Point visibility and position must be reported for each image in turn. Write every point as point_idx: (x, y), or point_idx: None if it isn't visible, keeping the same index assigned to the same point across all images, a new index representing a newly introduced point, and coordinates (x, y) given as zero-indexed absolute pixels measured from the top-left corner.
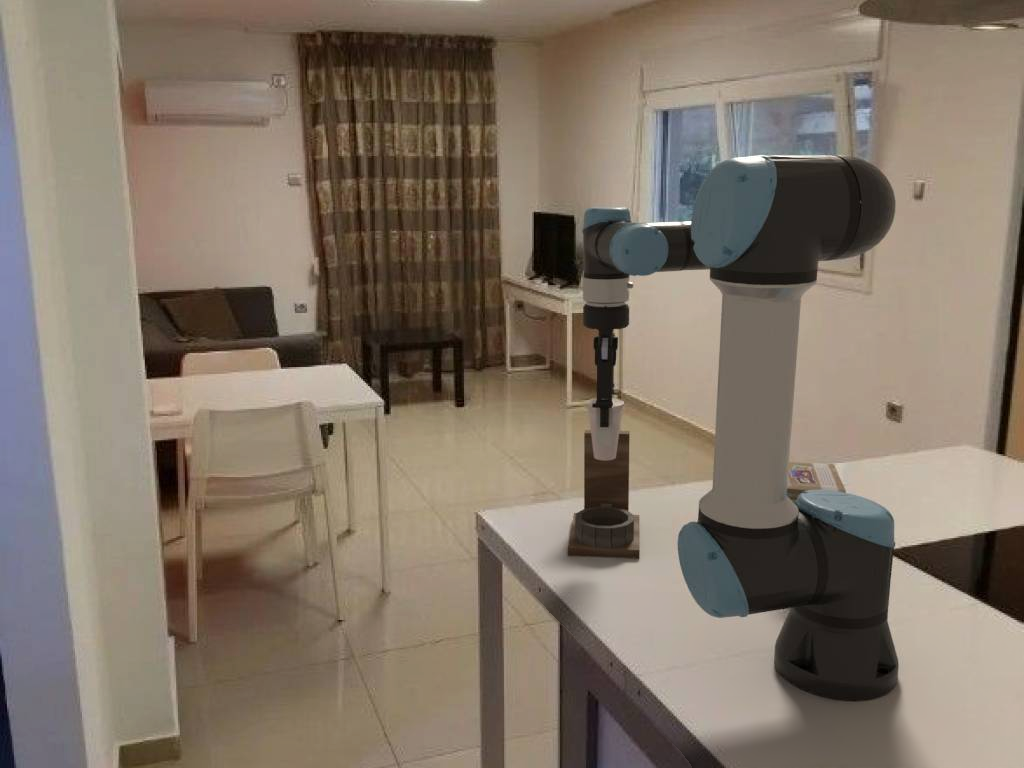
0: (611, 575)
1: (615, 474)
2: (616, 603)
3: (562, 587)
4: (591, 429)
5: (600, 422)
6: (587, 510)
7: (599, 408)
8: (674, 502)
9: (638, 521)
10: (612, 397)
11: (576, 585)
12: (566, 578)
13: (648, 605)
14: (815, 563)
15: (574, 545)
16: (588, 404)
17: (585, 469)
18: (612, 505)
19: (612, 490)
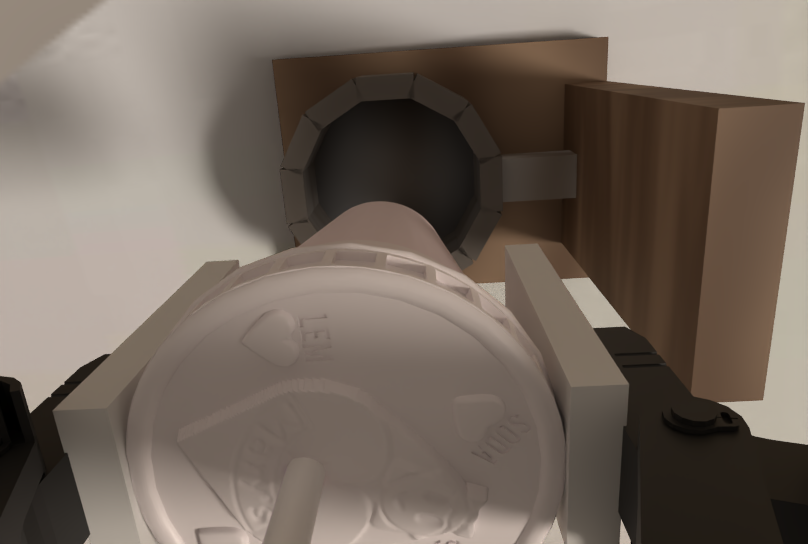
0: (170, 213)
1: (612, 244)
2: (2, 241)
3: (45, 77)
4: (311, 239)
5: (68, 381)
6: (451, 116)
7: (69, 434)
8: (781, 366)
9: None
10: (563, 533)
11: (72, 118)
12: (109, 80)
13: (21, 319)
14: None
15: (293, 82)
16: (209, 300)
17: (625, 100)
18: (574, 198)
19: (590, 212)
